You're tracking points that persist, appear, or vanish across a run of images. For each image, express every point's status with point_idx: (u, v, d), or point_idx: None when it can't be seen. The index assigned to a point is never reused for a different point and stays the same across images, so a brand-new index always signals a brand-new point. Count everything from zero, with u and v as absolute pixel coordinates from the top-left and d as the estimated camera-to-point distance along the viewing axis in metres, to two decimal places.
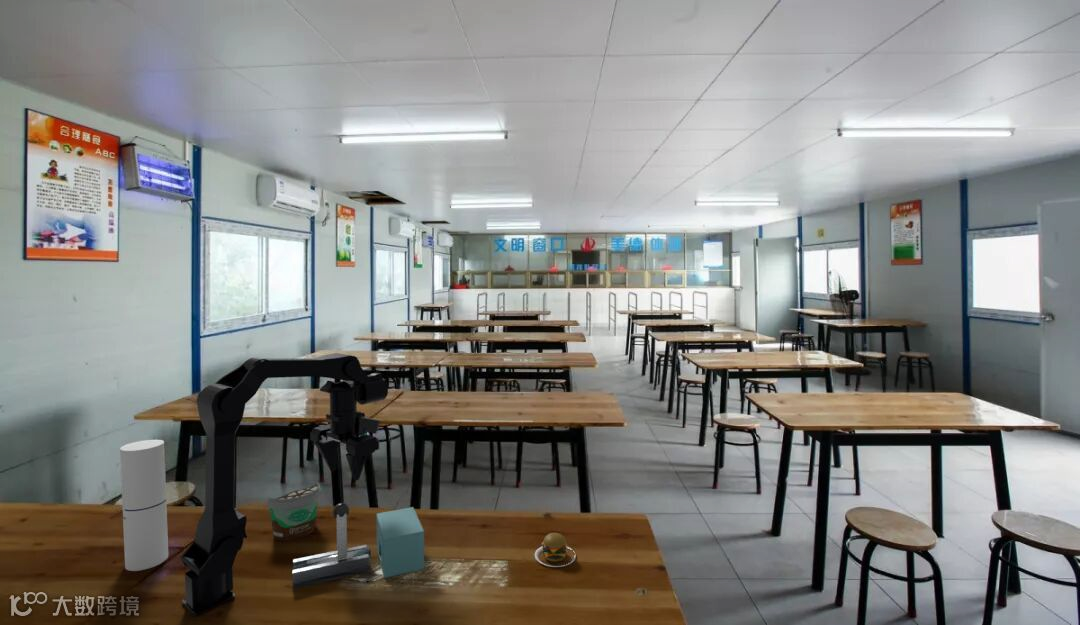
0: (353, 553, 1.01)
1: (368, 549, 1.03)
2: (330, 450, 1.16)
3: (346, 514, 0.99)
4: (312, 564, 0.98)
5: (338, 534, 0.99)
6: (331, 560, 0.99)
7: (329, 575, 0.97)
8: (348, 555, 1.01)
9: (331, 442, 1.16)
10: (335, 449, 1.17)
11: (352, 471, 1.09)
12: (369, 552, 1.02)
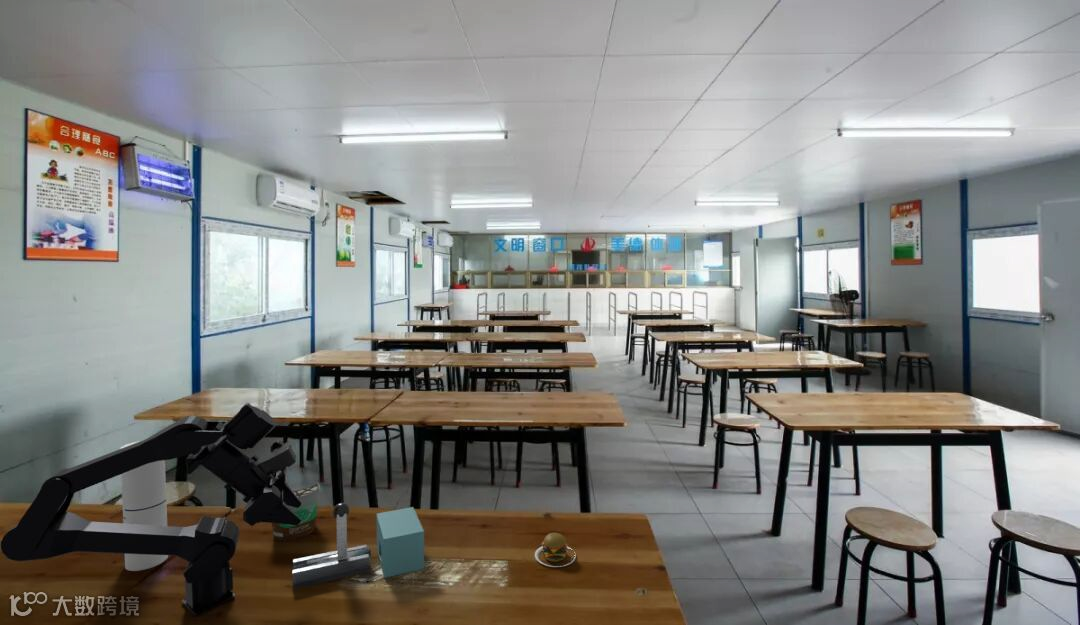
0: (353, 553, 1.01)
1: (368, 549, 1.03)
2: None
3: (346, 514, 0.99)
4: (312, 564, 0.98)
5: (338, 534, 0.99)
6: (331, 560, 0.99)
7: (329, 575, 0.97)
8: (348, 555, 1.01)
9: (273, 485, 0.99)
10: (284, 488, 0.99)
11: None
12: (369, 552, 1.02)
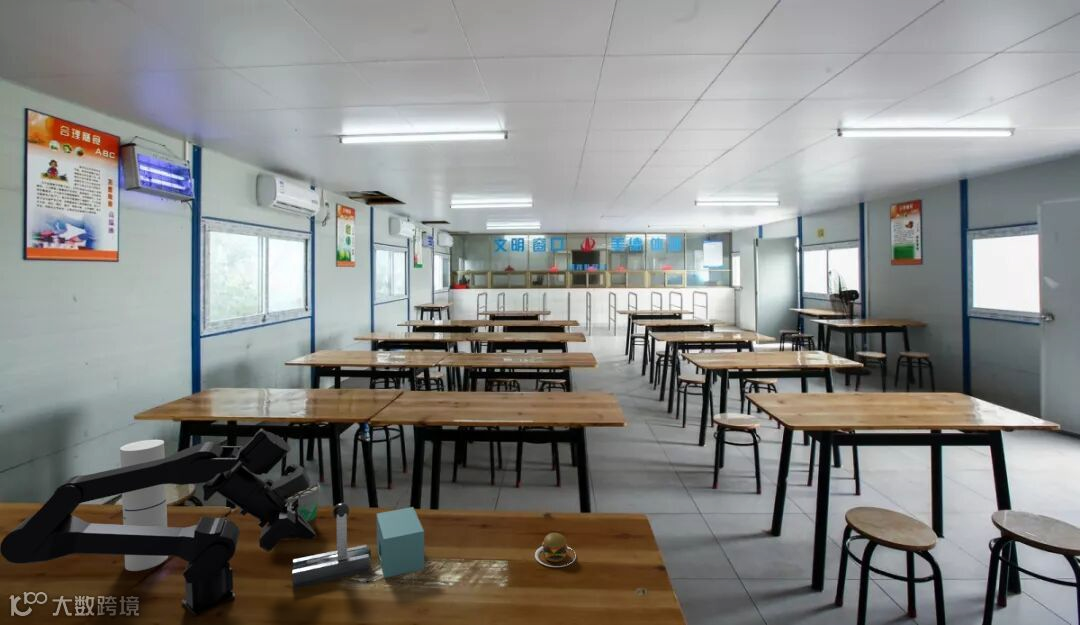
0: (353, 553, 1.01)
1: (368, 549, 1.03)
2: None
3: (346, 514, 0.99)
4: (312, 564, 0.98)
5: (338, 534, 0.99)
6: (331, 560, 0.99)
7: (329, 575, 0.97)
8: (348, 555, 1.01)
9: None
10: None
11: None
12: (369, 552, 1.02)
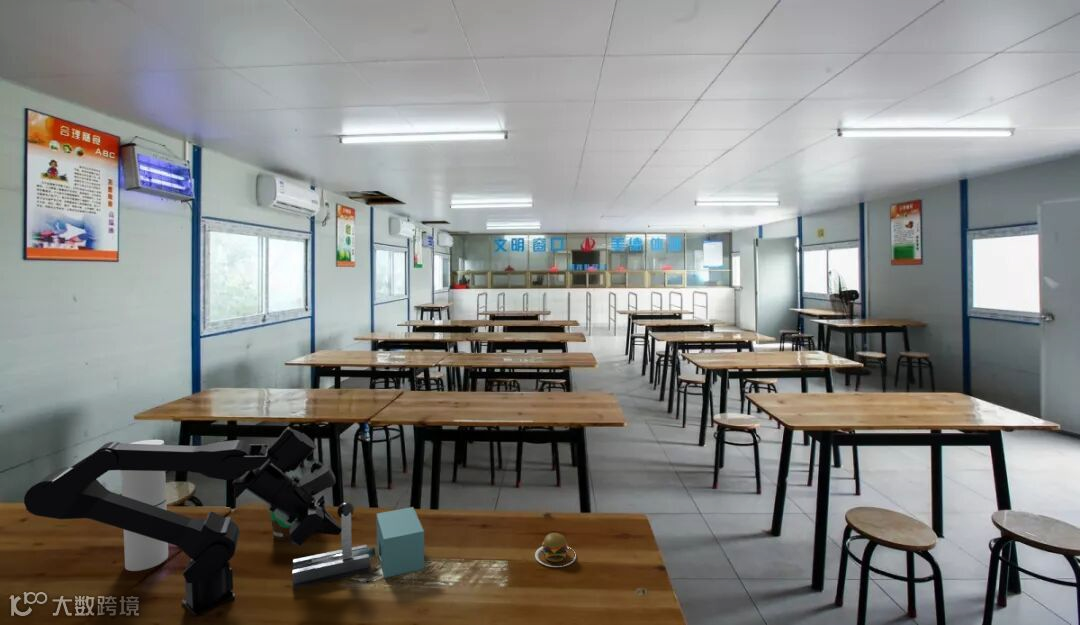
0: (358, 552, 1.01)
1: (372, 548, 1.03)
2: None
3: (351, 513, 1.00)
4: (317, 563, 0.98)
5: (343, 533, 0.99)
6: (336, 559, 0.99)
7: (329, 575, 0.97)
8: (353, 554, 1.01)
9: None
10: None
11: None
12: (373, 551, 1.02)
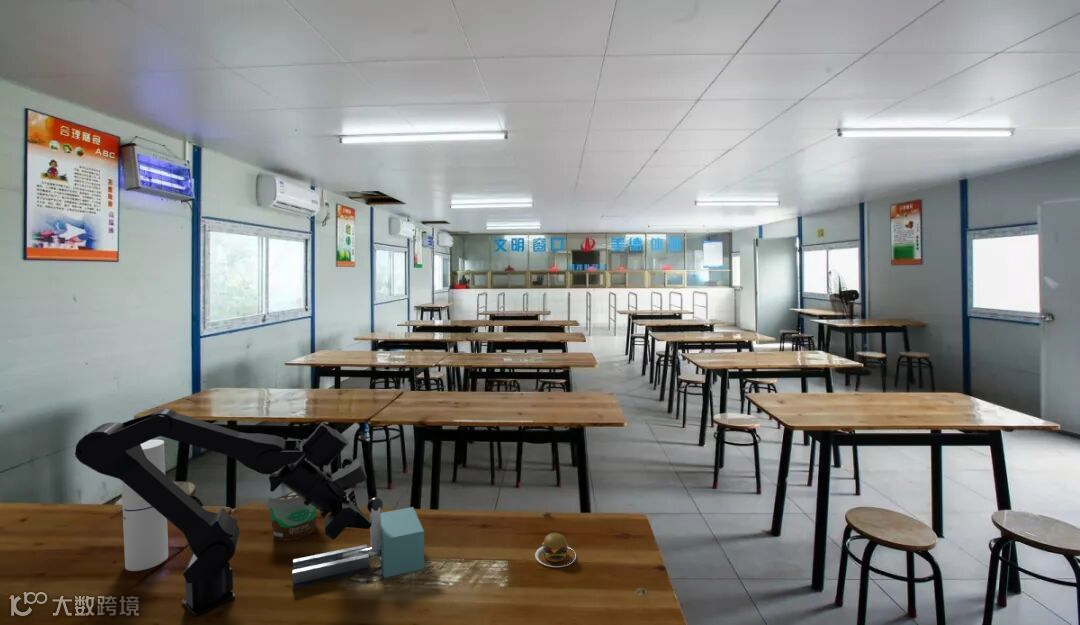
0: None
1: None
2: None
3: (380, 508, 1.02)
4: (348, 556, 1.00)
5: (373, 527, 1.01)
6: (366, 553, 1.02)
7: (329, 575, 0.97)
8: None
9: None
10: None
11: None
12: None
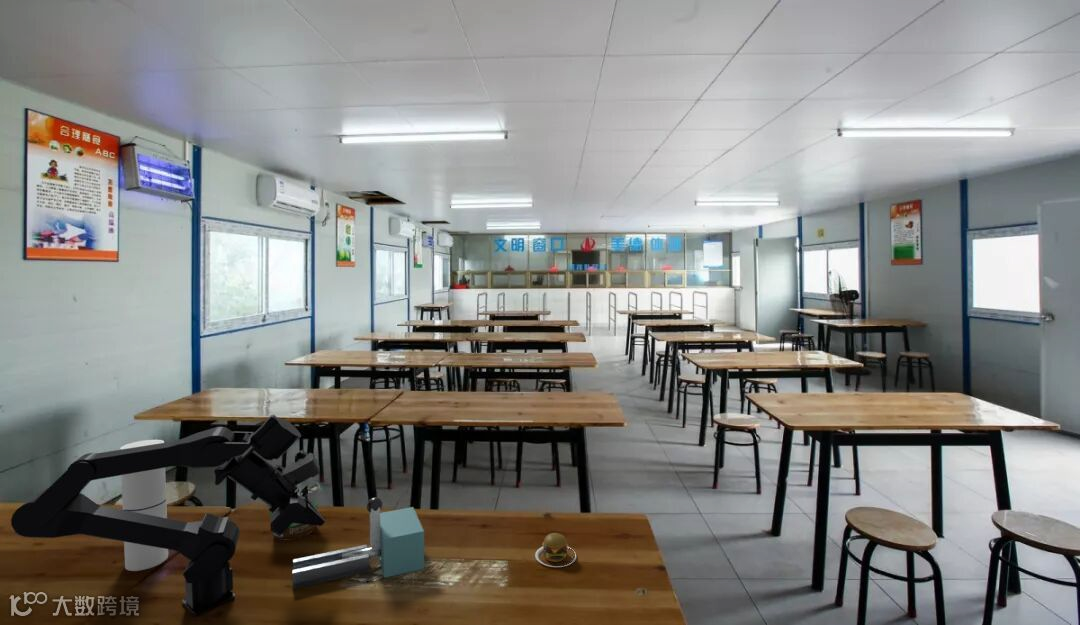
0: None
1: None
2: None
3: (380, 508, 1.02)
4: (347, 557, 1.00)
5: (372, 527, 1.01)
6: (365, 553, 1.02)
7: (329, 575, 0.97)
8: None
9: None
10: None
11: None
12: None
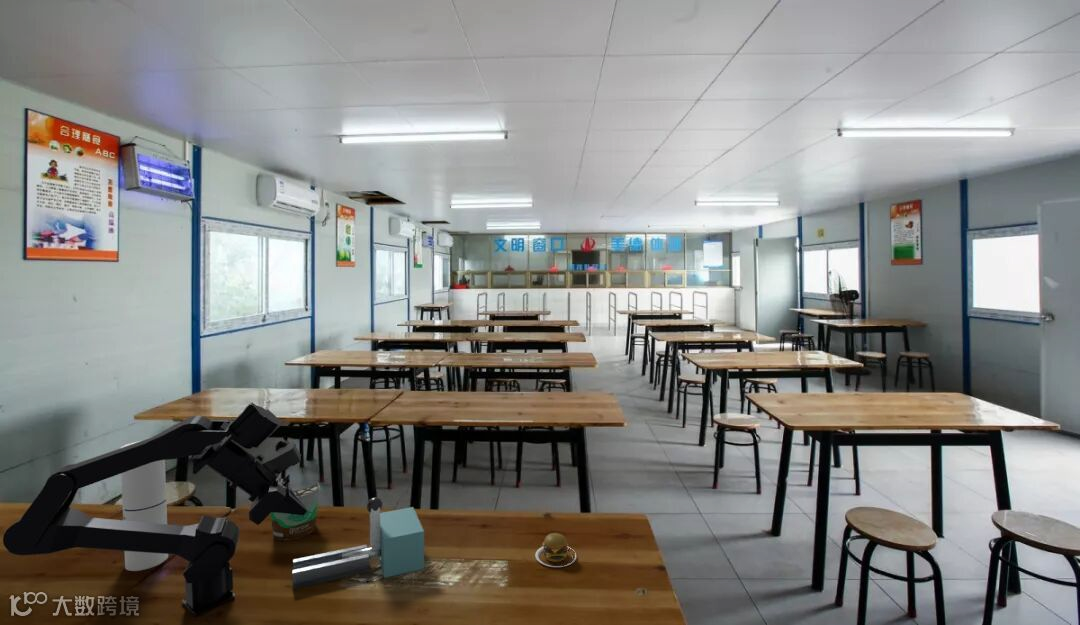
0: None
1: None
2: None
3: (380, 508, 1.02)
4: (347, 557, 1.00)
5: (372, 527, 1.01)
6: (365, 553, 1.02)
7: (329, 575, 0.97)
8: None
9: None
10: None
11: None
12: None
